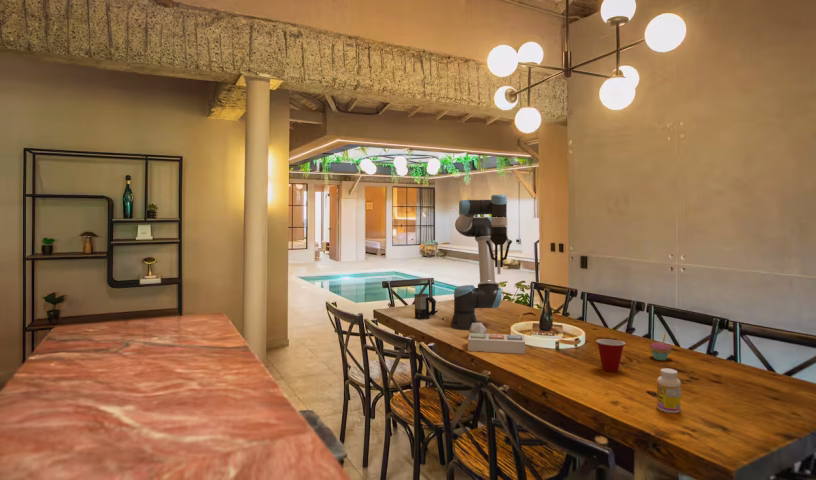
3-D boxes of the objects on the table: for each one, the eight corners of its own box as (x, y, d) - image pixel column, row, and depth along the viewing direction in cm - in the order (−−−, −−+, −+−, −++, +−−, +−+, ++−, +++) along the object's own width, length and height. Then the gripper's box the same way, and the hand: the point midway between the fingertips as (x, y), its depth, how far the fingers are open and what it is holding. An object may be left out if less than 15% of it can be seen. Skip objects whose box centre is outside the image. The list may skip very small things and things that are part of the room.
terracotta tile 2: (490, 340, 220) (490, 333, 220) (502, 341, 219) (502, 333, 219) (489, 344, 215) (489, 336, 214) (502, 344, 213) (502, 337, 213)
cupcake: (670, 357, 201) (670, 330, 200) (672, 362, 193) (672, 334, 193) (648, 354, 205) (648, 328, 204) (649, 360, 197) (649, 332, 196)
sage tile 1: (472, 340, 222) (472, 332, 222) (485, 340, 221) (485, 333, 221) (471, 343, 216) (471, 335, 216) (484, 344, 215) (484, 336, 215)
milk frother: (413, 319, 281) (412, 295, 280) (417, 314, 296) (416, 291, 296) (436, 320, 278) (435, 296, 278) (438, 314, 294) (438, 291, 293)
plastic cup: (623, 367, 189) (623, 338, 188) (626, 375, 179) (626, 345, 178) (595, 364, 193) (595, 336, 192) (596, 372, 182) (596, 343, 182)
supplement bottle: (654, 404, 152) (655, 366, 151) (677, 406, 150) (677, 368, 149) (659, 412, 145) (660, 373, 145) (682, 415, 143) (683, 374, 143)
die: (484, 342, 231) (491, 325, 234) (469, 334, 231) (476, 317, 234) (478, 343, 239) (485, 327, 242) (464, 335, 239) (471, 319, 242)
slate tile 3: (508, 341, 219) (508, 334, 218) (521, 342, 217) (521, 334, 217) (508, 345, 213) (508, 337, 213) (521, 345, 211) (521, 337, 211)
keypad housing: (470, 343, 226) (469, 332, 225) (524, 346, 220) (524, 335, 220) (467, 351, 214) (467, 339, 214) (525, 353, 208) (525, 342, 208)
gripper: (485, 226, 222) (485, 274, 224) (512, 226, 219) (512, 275, 221) (485, 226, 230) (485, 272, 231) (512, 225, 227) (512, 273, 228)
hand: (498, 273), depth 226 cm, fingers closed
